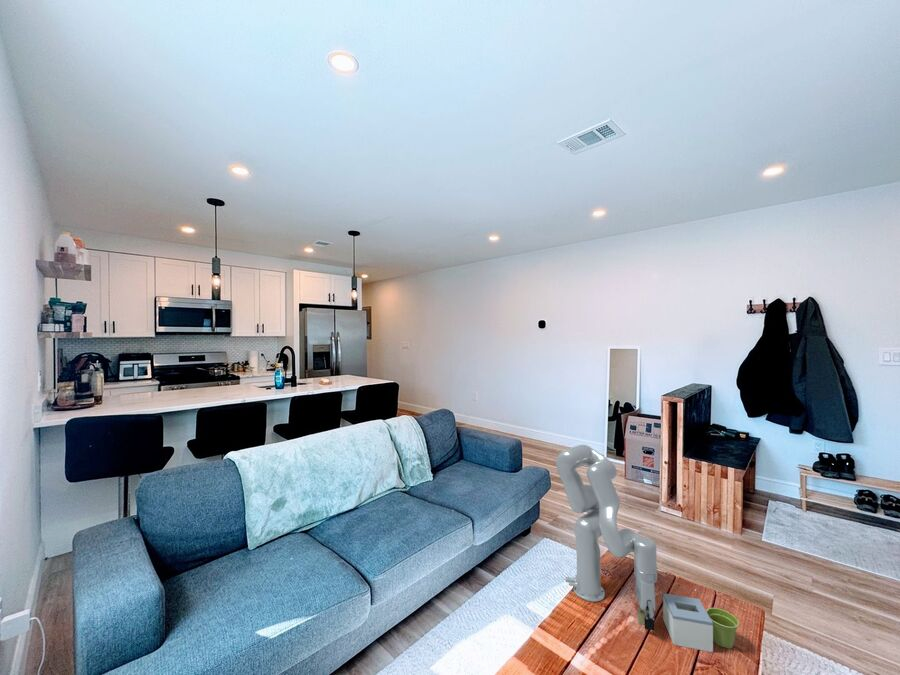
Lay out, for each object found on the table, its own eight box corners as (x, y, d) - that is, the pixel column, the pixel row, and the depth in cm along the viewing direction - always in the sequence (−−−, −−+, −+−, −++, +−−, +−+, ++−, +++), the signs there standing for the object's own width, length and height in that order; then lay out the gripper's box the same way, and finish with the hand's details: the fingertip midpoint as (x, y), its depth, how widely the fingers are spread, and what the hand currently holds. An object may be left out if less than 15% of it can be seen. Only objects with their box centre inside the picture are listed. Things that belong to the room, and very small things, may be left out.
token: (639, 624, 138) (638, 611, 138) (637, 620, 139) (637, 607, 140) (653, 627, 136) (653, 613, 136) (652, 623, 138) (652, 609, 138)
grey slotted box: (673, 644, 128) (673, 615, 128) (663, 619, 140) (663, 593, 140) (713, 652, 125) (712, 622, 125) (699, 626, 137) (699, 599, 137)
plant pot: (700, 636, 132) (699, 612, 132) (716, 628, 136) (716, 604, 136) (728, 656, 123) (728, 630, 123) (745, 647, 127) (745, 622, 127)
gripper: (629, 558, 147) (630, 602, 147) (639, 586, 131) (640, 635, 130) (650, 561, 145) (651, 605, 145) (663, 589, 129) (664, 639, 128)
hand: (646, 619), depth 138 cm, fingers open, 8 cm apart
